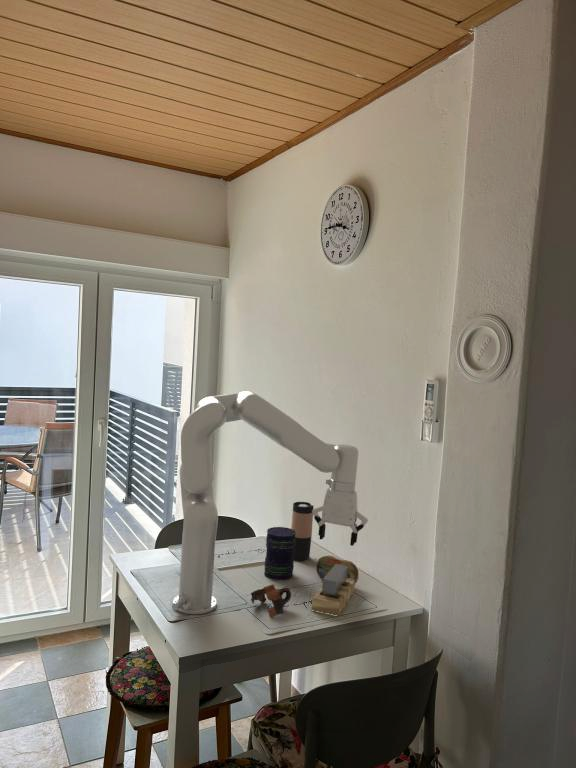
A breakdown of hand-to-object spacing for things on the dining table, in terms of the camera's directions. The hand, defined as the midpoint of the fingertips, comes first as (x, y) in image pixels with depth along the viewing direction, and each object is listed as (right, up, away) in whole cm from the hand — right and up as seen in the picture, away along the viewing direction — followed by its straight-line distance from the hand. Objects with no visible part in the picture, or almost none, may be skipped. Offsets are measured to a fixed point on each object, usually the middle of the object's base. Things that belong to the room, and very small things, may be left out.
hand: (337, 541), depth 179 cm
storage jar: (-18, -17, +19) cm, 31 cm away
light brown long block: (-1, -19, +1) cm, 19 cm away
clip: (-1, -19, +1) cm, 19 cm away
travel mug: (-11, -16, +37) cm, 41 cm away
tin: (+1, -18, +16) cm, 24 cm away
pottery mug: (-20, -18, -7) cm, 28 cm away
